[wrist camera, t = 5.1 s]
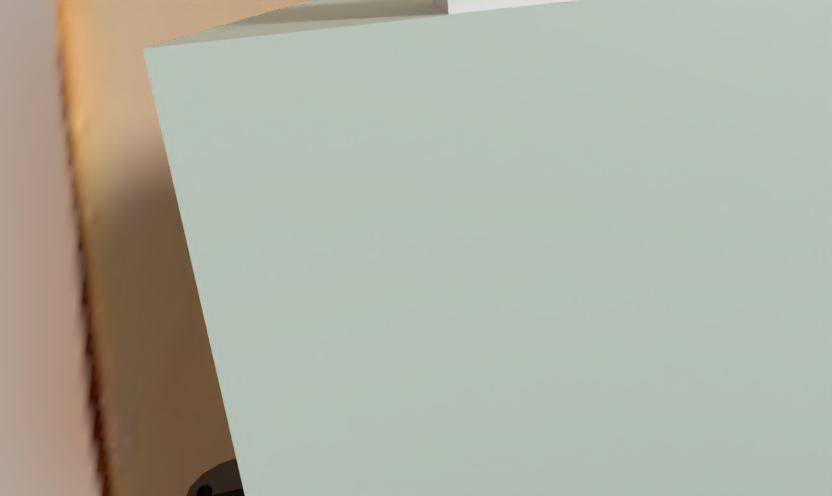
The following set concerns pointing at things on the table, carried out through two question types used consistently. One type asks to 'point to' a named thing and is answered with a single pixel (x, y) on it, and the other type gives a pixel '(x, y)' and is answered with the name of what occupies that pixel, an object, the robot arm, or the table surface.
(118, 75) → the table surface
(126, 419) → the table surface
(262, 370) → the door
